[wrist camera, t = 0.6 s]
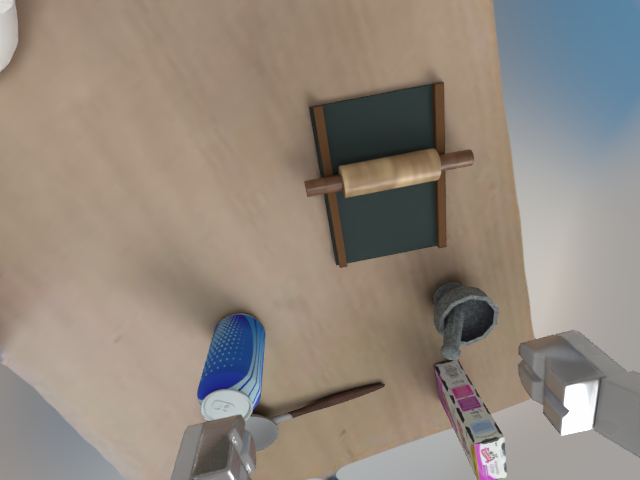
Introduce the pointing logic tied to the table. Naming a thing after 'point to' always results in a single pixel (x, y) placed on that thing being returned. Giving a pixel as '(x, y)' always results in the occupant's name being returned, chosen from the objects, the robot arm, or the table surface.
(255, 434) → the spoon
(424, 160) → the rolling pin
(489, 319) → the mortar and pestle
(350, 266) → the table surface
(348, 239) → the chalkboard
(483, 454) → the candy bar box
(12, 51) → the pot
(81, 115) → the table surface
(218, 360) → the beer can
